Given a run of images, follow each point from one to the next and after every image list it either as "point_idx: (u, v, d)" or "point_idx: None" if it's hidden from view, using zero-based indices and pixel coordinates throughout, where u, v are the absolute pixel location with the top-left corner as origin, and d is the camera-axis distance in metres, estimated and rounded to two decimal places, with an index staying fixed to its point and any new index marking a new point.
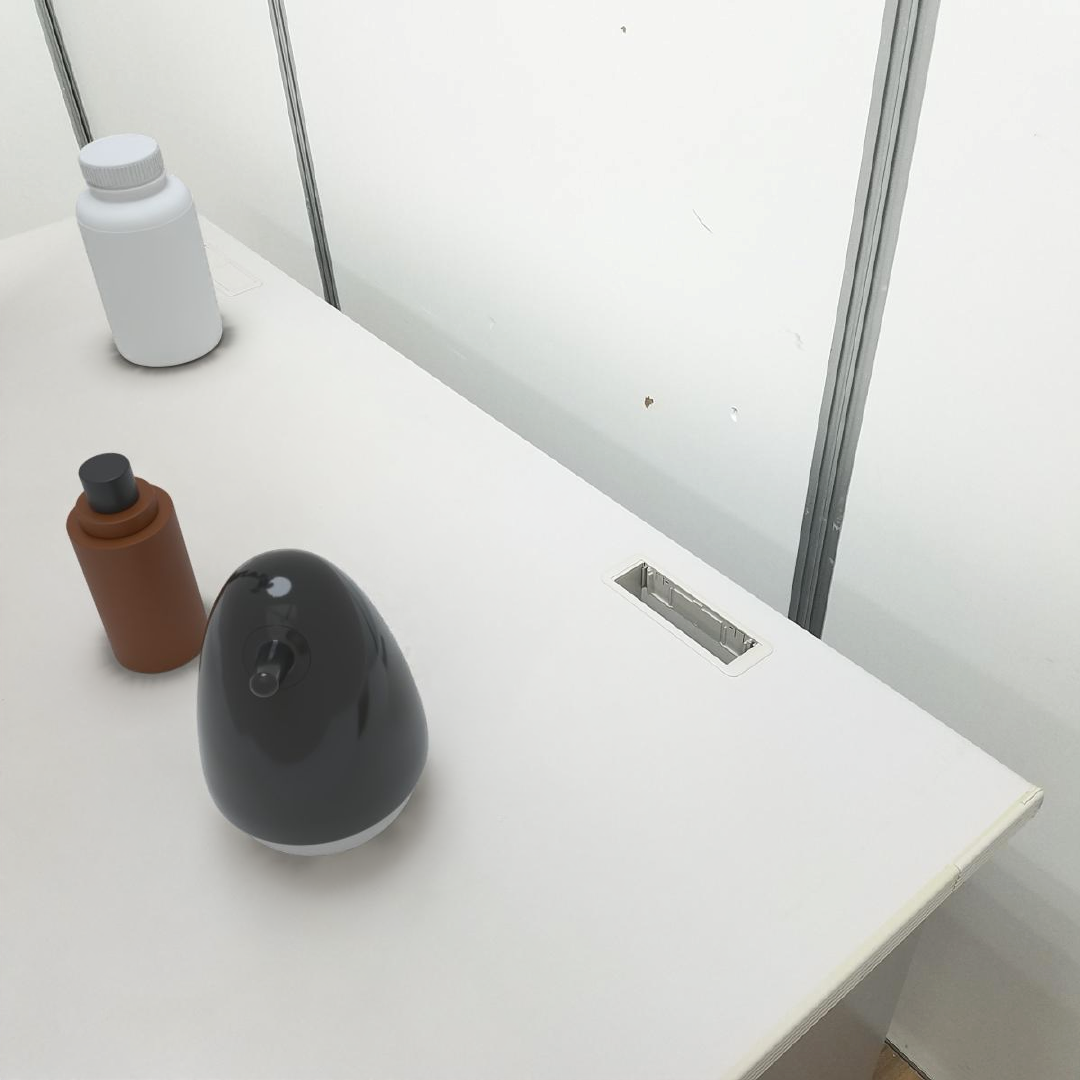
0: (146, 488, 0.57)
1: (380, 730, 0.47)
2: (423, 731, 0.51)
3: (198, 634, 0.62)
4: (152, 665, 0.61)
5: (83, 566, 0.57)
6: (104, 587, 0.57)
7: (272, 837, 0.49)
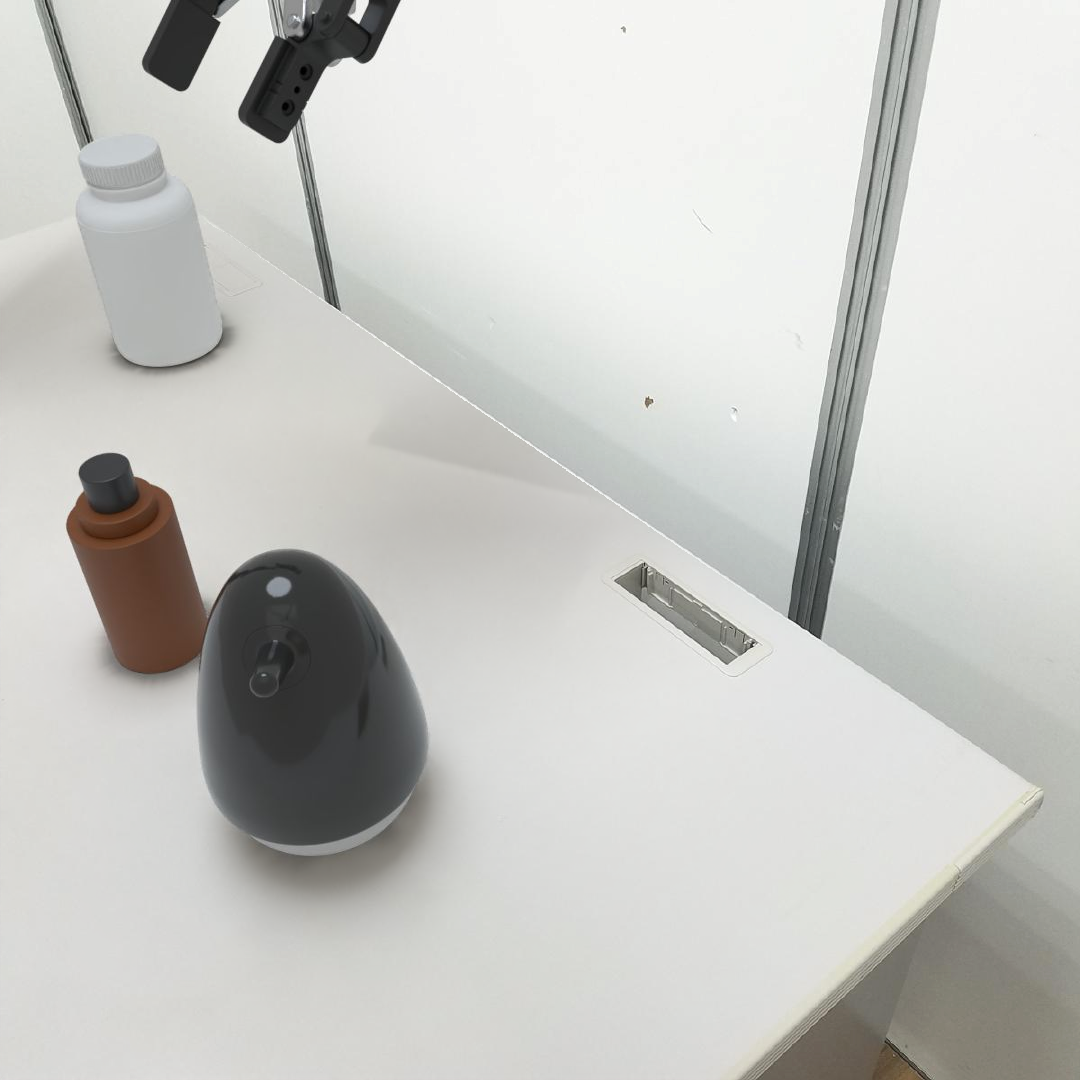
0: (146, 488, 0.57)
1: (380, 730, 0.47)
2: (423, 731, 0.51)
3: (198, 634, 0.62)
4: (152, 665, 0.61)
5: (83, 566, 0.57)
6: (104, 587, 0.57)
7: (272, 837, 0.49)
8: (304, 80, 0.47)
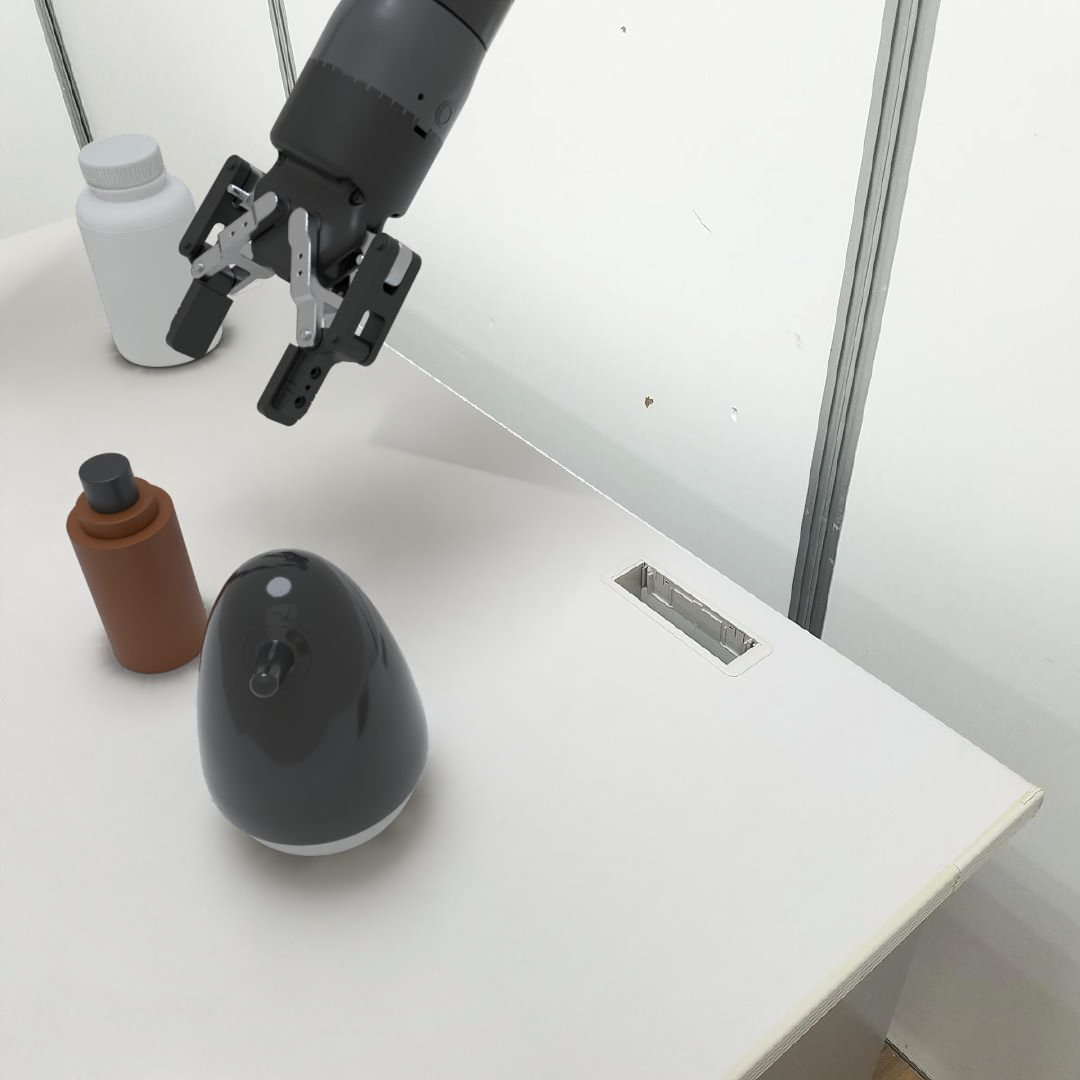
0: (146, 488, 0.57)
1: (380, 730, 0.47)
2: (423, 731, 0.51)
3: (198, 634, 0.62)
4: (152, 665, 0.61)
5: (83, 566, 0.57)
6: (104, 587, 0.57)
7: (272, 837, 0.49)
8: (313, 379, 0.55)
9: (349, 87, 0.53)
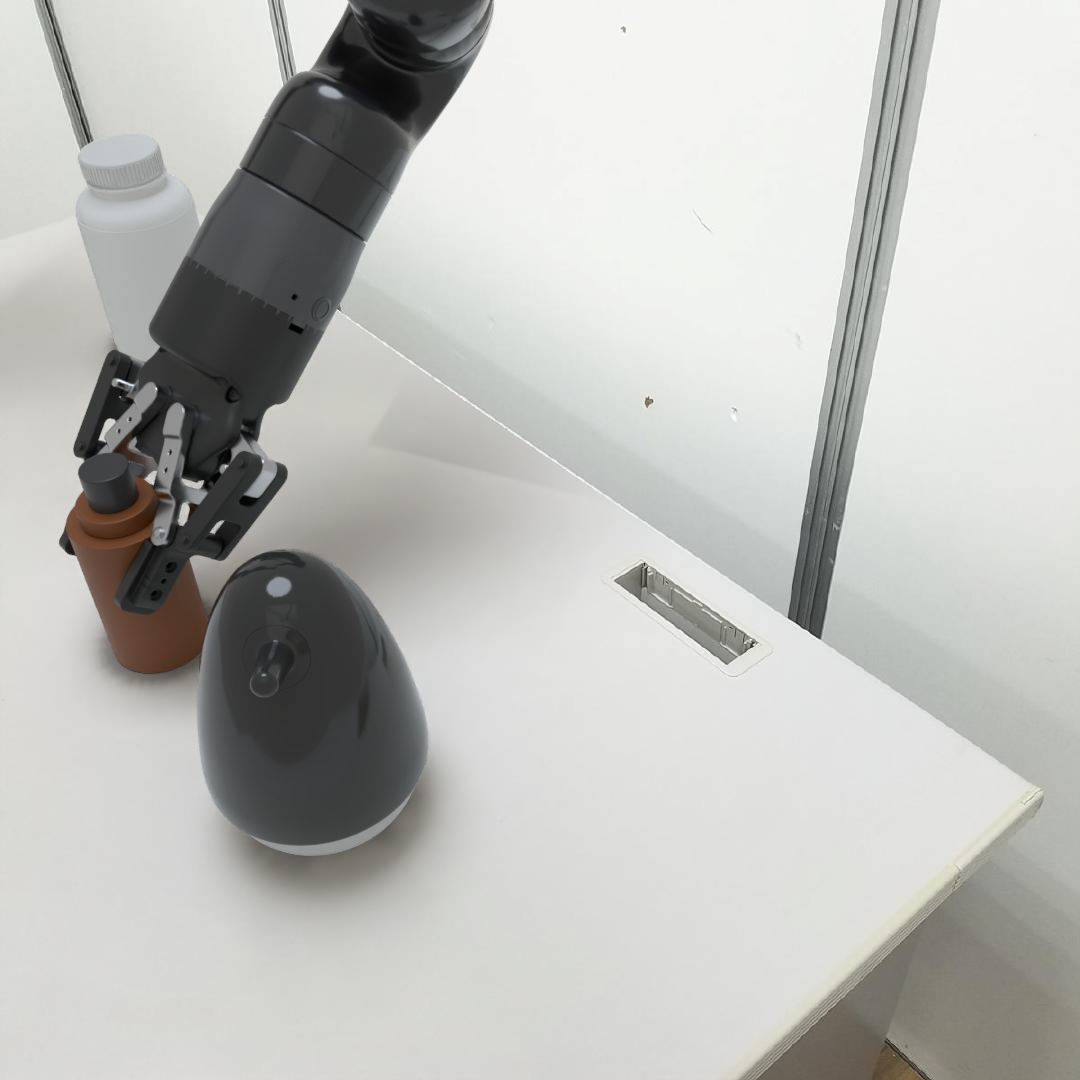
0: (146, 487, 0.57)
1: (381, 730, 0.47)
2: (423, 731, 0.51)
3: (198, 634, 0.62)
4: (152, 665, 0.61)
5: (83, 566, 0.57)
6: (104, 587, 0.57)
7: (272, 837, 0.49)
8: (169, 572, 0.56)
9: (221, 291, 0.53)
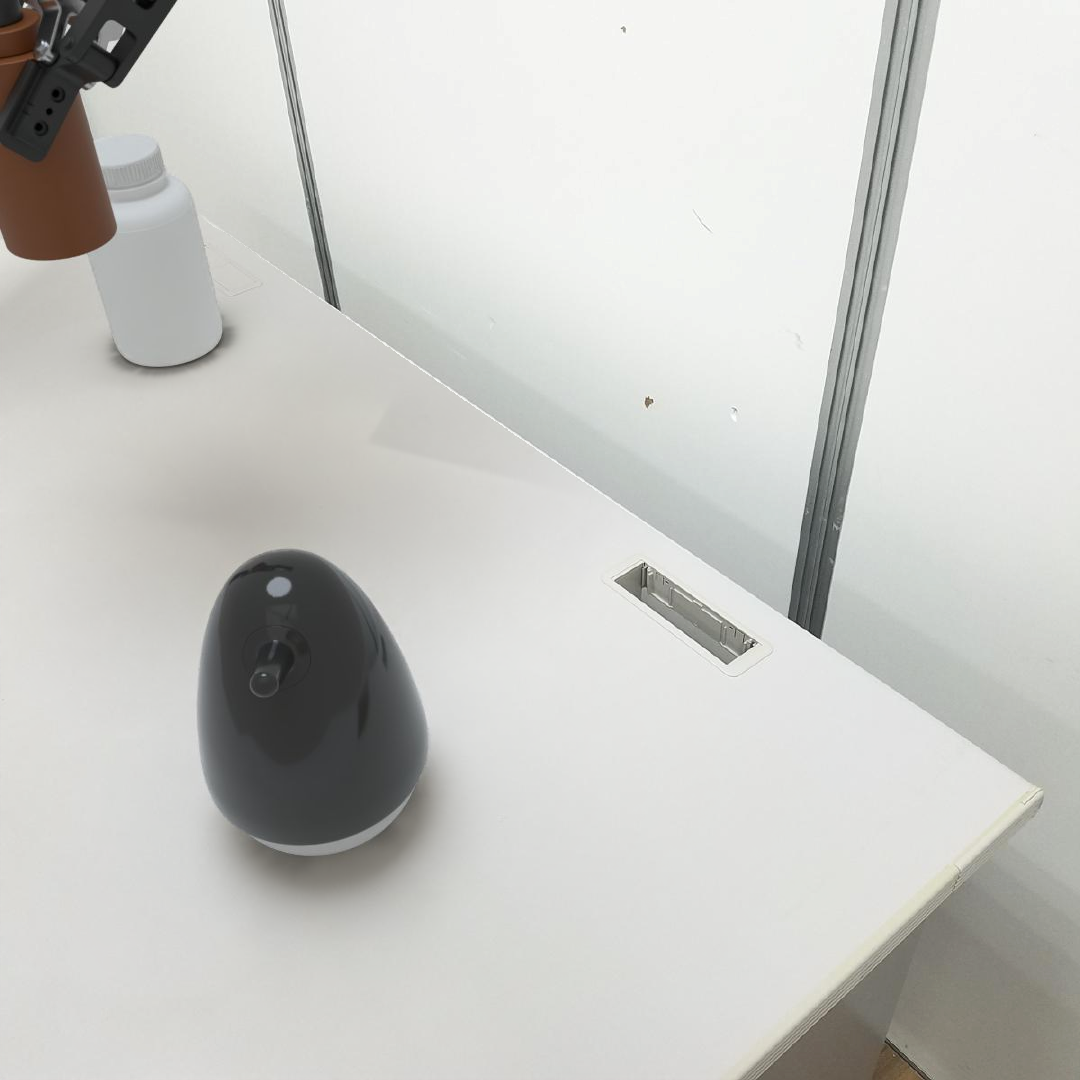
0: (32, 13, 0.50)
1: (381, 730, 0.47)
2: (423, 731, 0.51)
3: (100, 220, 0.54)
4: (46, 249, 0.53)
5: None
6: None
7: (272, 837, 0.49)
8: (57, 102, 0.49)
9: None
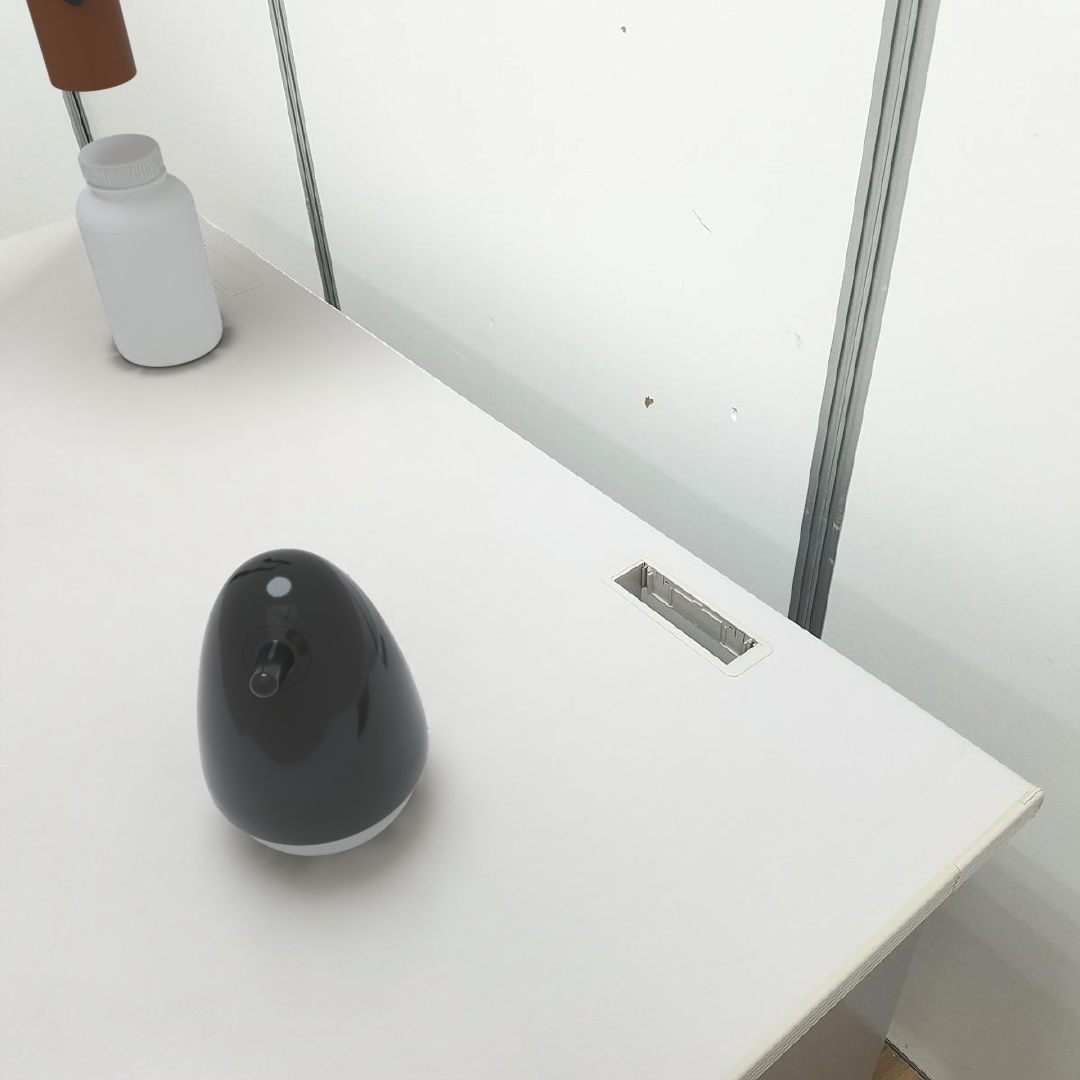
0: None
1: (381, 730, 0.47)
2: (423, 731, 0.51)
3: (124, 61, 0.70)
4: (83, 81, 0.69)
5: None
6: None
7: (272, 837, 0.49)
8: None
9: None
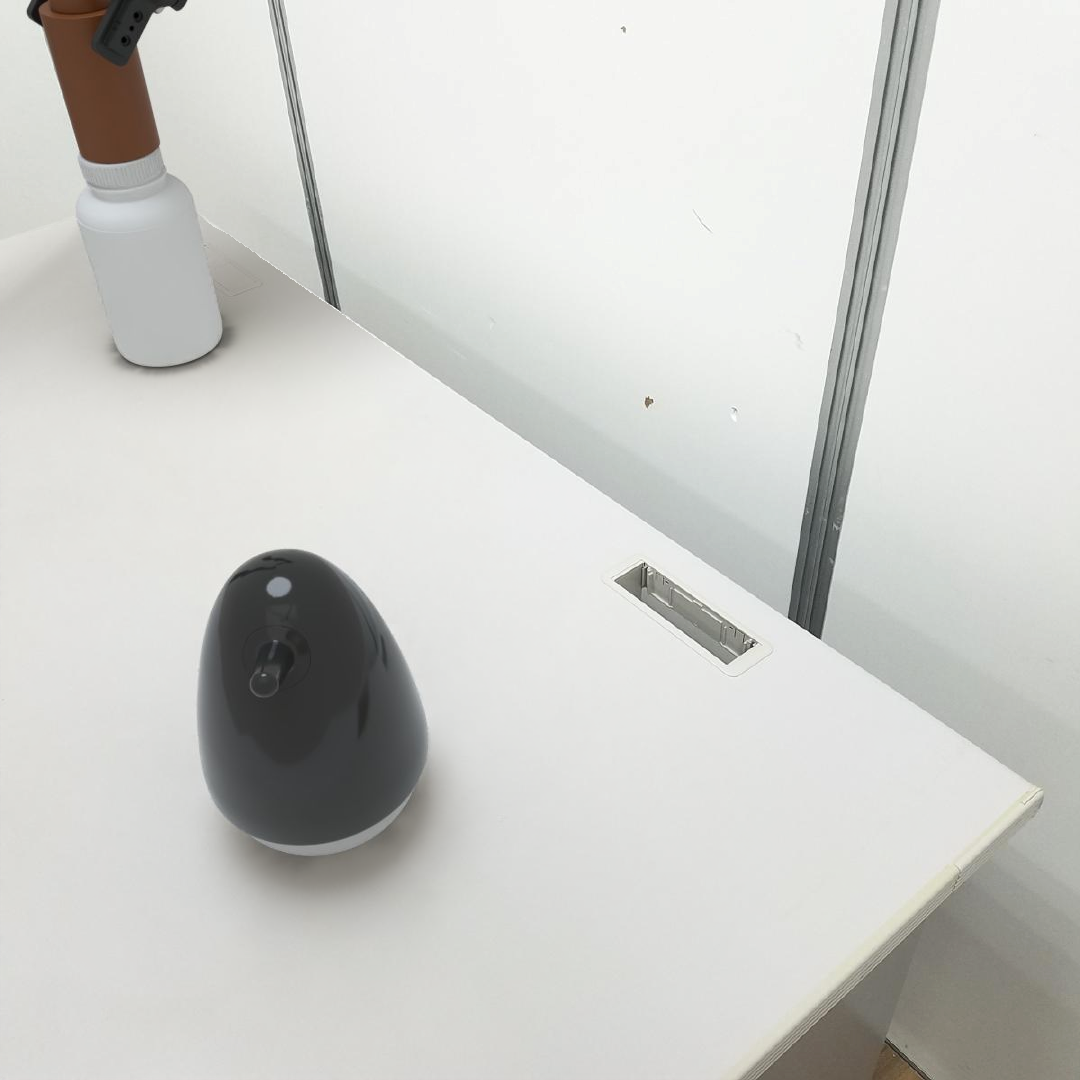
0: None
1: (381, 730, 0.47)
2: (423, 731, 0.51)
3: (149, 134, 0.75)
4: (111, 154, 0.74)
5: (52, 45, 0.70)
6: (69, 63, 0.70)
7: (272, 837, 0.49)
8: (137, 22, 0.68)
9: None
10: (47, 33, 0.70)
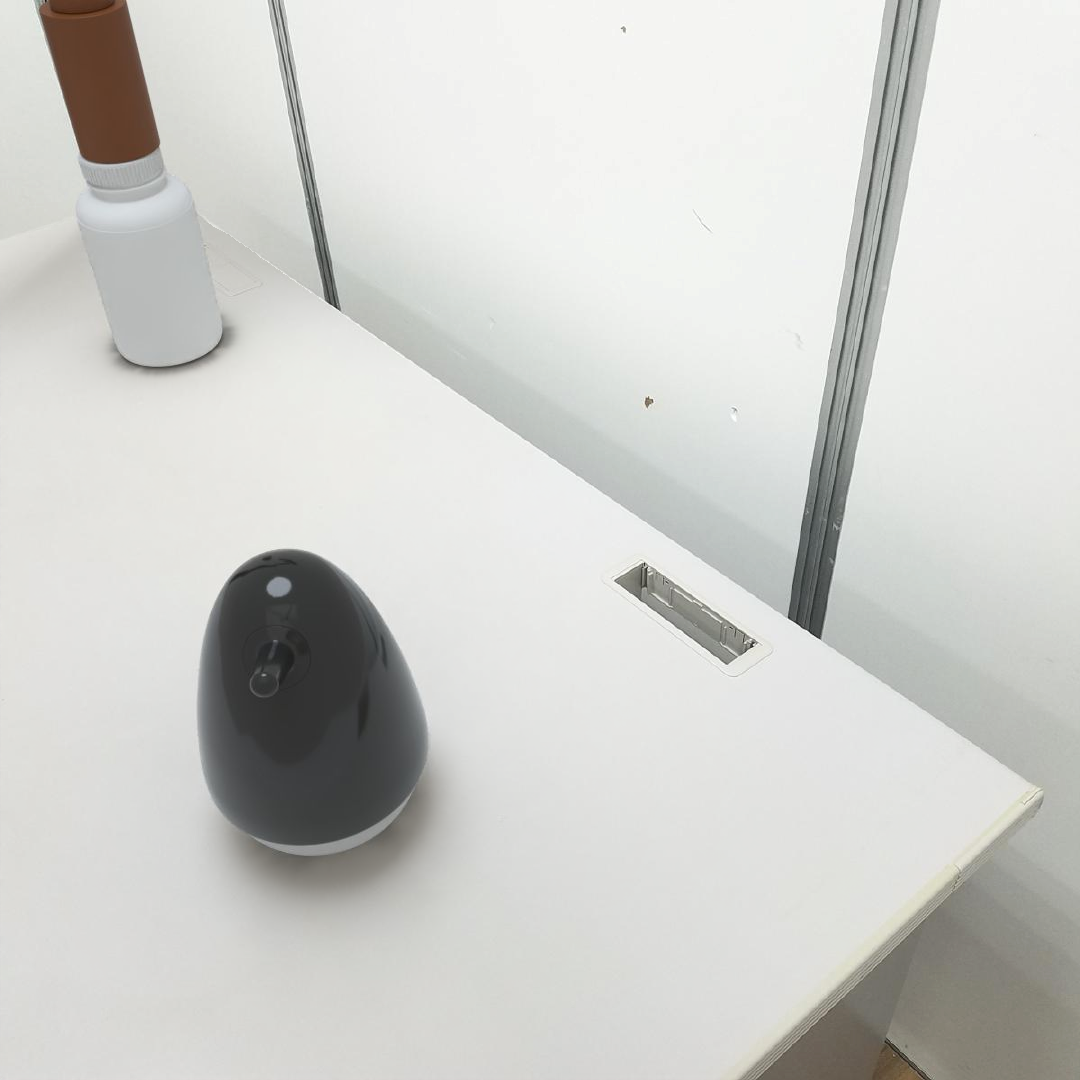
0: None
1: (381, 730, 0.47)
2: (423, 731, 0.51)
3: (149, 134, 0.75)
4: (111, 154, 0.74)
5: (53, 45, 0.70)
6: (70, 63, 0.70)
7: (272, 837, 0.49)
8: None
9: None
10: (47, 33, 0.70)
